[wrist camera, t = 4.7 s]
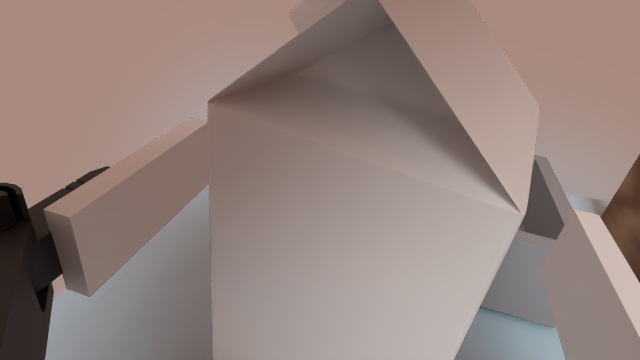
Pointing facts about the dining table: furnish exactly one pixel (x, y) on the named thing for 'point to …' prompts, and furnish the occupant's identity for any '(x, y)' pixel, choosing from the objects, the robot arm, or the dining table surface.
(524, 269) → the tray
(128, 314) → the dining table surface
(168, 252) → the dining table surface
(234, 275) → the milk carton
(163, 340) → the dining table surface
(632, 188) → the walnut wall
